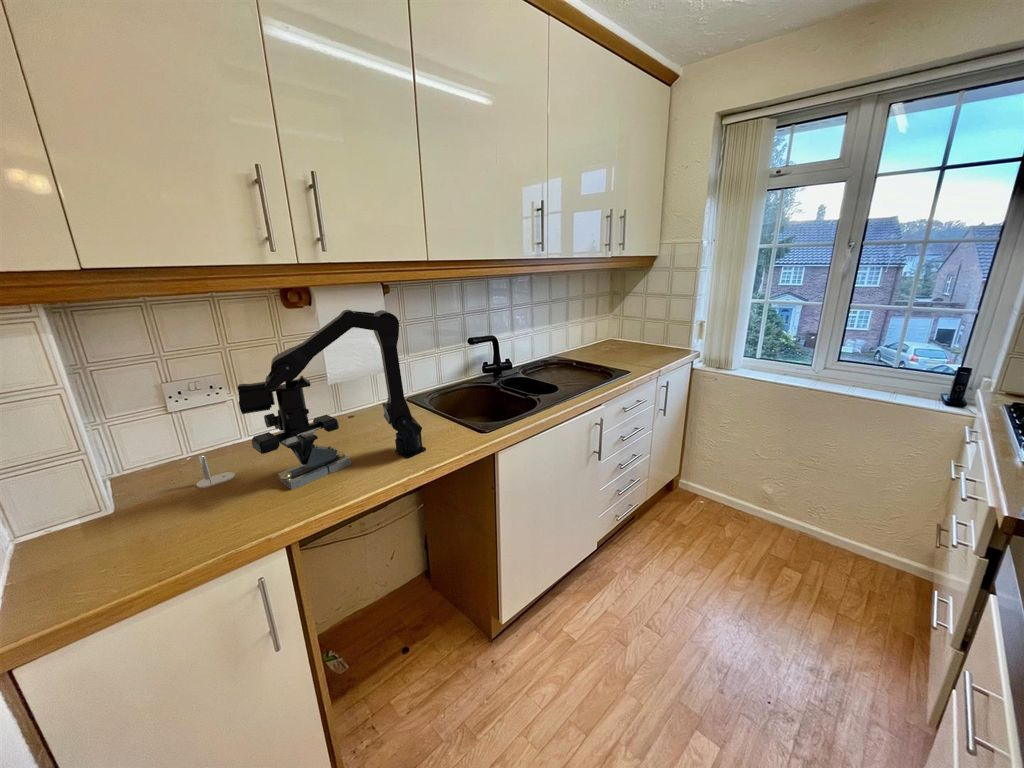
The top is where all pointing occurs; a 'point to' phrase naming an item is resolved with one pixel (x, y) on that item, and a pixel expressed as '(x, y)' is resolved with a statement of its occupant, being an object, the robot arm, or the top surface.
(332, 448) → the block with brass studs
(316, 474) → the end link
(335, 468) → the end link
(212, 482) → the stand
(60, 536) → the top surface
